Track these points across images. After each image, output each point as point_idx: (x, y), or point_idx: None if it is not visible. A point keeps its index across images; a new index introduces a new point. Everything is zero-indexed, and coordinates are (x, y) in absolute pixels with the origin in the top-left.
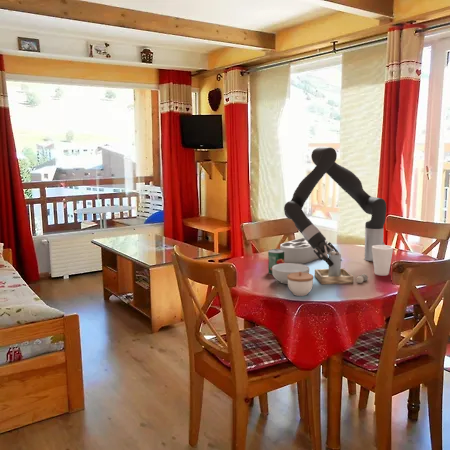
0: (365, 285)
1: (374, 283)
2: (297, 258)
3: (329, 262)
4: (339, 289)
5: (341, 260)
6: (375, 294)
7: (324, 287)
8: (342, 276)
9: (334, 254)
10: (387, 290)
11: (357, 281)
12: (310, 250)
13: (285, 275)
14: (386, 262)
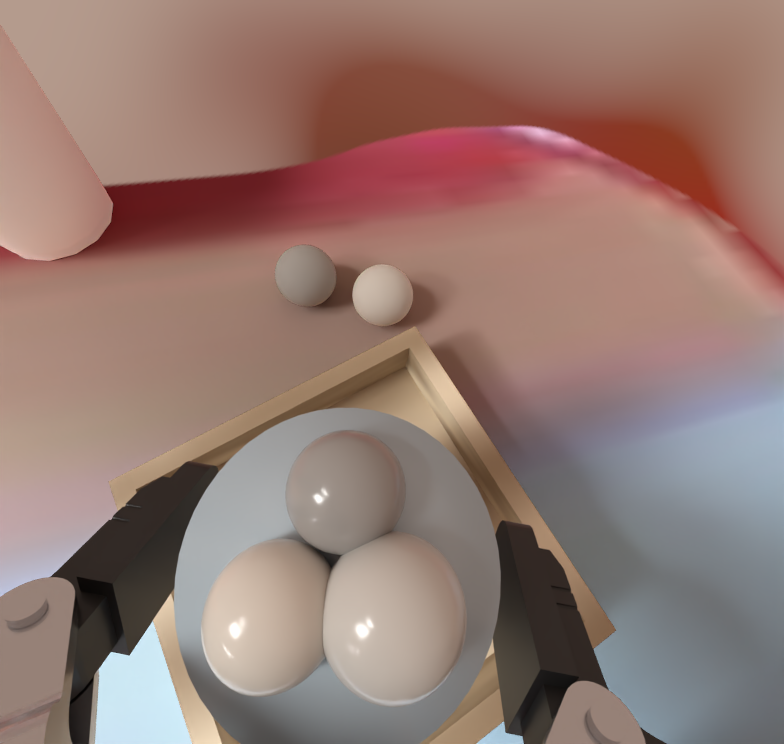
0: (425, 267)
1: (350, 225)
2: None
3: (569, 597)
4: (623, 411)
5: (200, 463)
6: (589, 192)
7: (647, 549)
8: (464, 415)
9: (437, 546)
10: (474, 149)
11: (406, 313)
12: None
13: None
14: (33, 77)
